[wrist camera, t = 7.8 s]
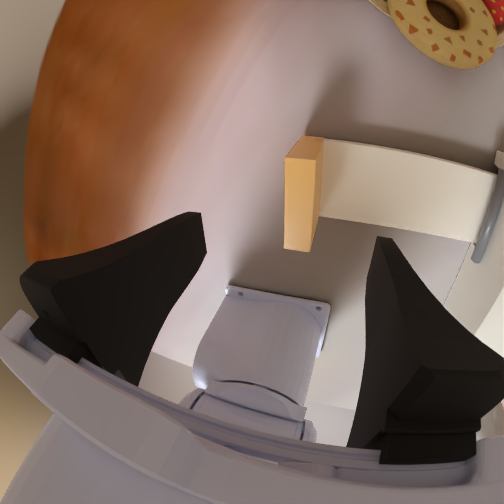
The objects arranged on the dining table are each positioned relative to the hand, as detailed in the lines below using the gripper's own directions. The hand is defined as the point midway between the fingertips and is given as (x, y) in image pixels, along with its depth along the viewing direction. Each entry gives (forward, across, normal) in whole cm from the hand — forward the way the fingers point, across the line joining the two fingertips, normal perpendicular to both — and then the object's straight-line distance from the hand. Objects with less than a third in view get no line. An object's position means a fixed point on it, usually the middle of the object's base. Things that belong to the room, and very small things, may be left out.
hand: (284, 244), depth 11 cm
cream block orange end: (+8, -7, 0) cm, 10 cm away
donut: (+9, -28, +25) cm, 39 cm away
